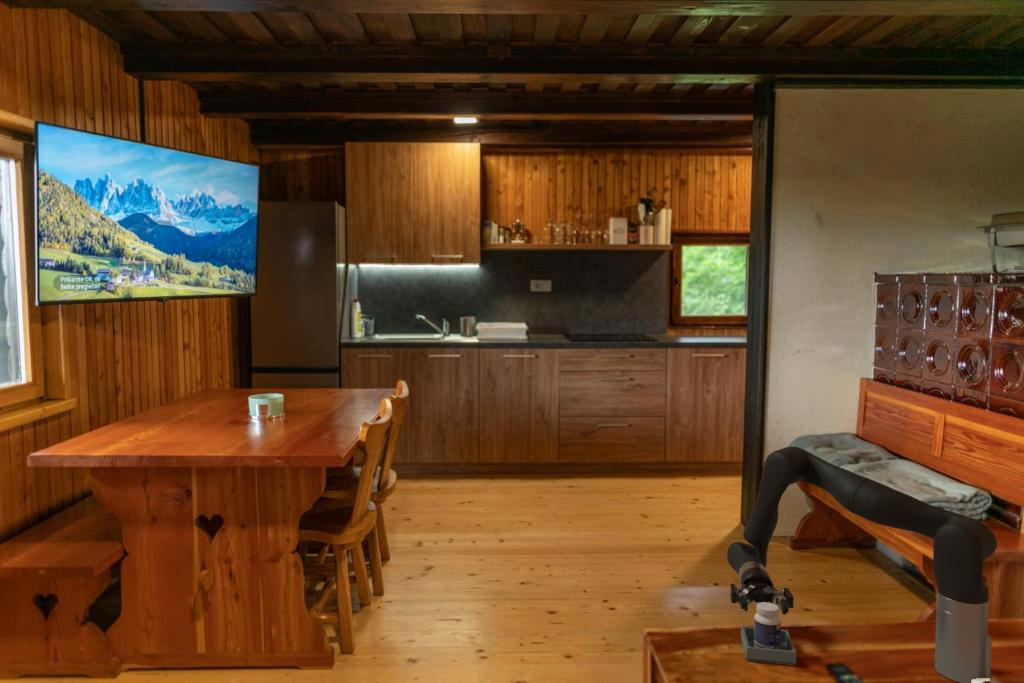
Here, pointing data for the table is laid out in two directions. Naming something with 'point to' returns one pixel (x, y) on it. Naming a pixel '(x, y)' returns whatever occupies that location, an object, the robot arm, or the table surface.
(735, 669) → the table surface
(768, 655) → the tray
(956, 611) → the robot arm
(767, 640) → the pill bottle
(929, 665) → the table surface
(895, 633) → the table surface
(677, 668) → the table surface
